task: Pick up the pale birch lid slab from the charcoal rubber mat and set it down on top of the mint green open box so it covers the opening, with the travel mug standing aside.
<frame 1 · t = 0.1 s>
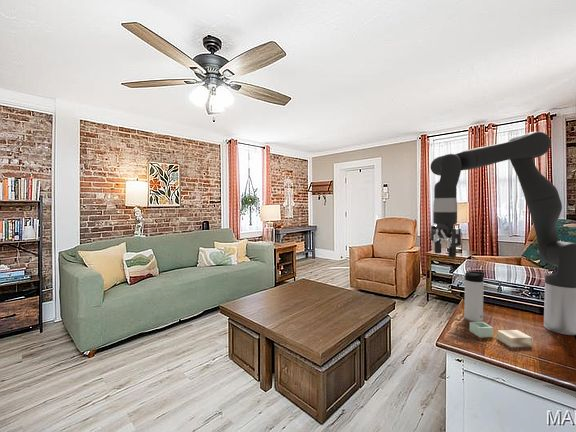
hand: (444, 255, 100), 29 cm above the table, tool pointing down, fingers open, 8 cm apart
mat: (513, 344, 93), on the table
lid: (513, 342, 93), point 1 cm above the table, touching mat
mint green open box: (481, 335, 99), on the table
travel mug: (473, 321, 112), on the table
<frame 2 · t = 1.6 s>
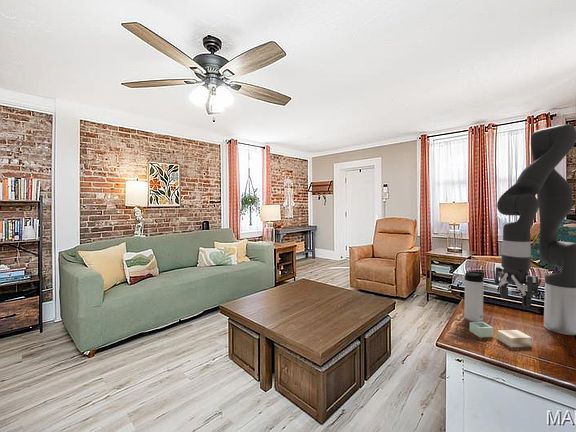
hand: (514, 301, 92), 15 cm above the table, tool pointing down, fingers open, 8 cm apart
nothing on the table moved.
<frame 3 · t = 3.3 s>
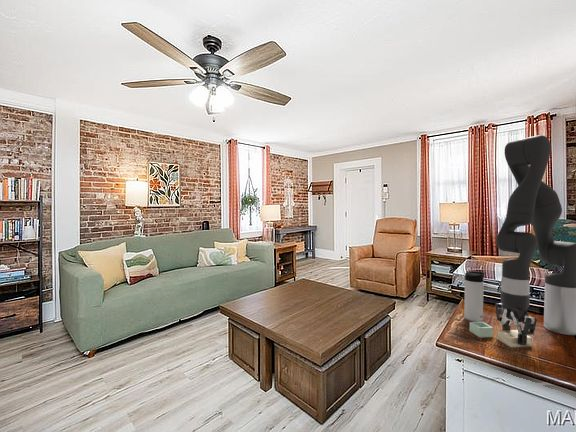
hand: (513, 339, 93), 2 cm above the table, tool pointing down, fingers closed on lid, 5 cm apart
lid: (513, 342, 93), point 1 cm above the table, touching gripper, mat
everything else where it was.
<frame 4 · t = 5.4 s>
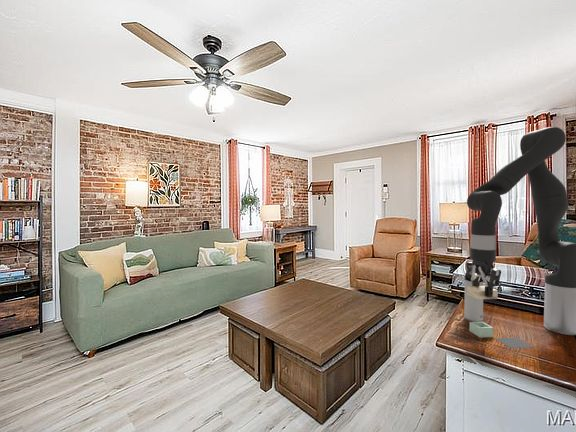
hand: (481, 293, 98), 15 cm above the table, tool pointing down, fingers closed on lid, 5 cm apart
lid: (481, 296, 98), point 14 cm above the table, touching gripper
everything else where it was.
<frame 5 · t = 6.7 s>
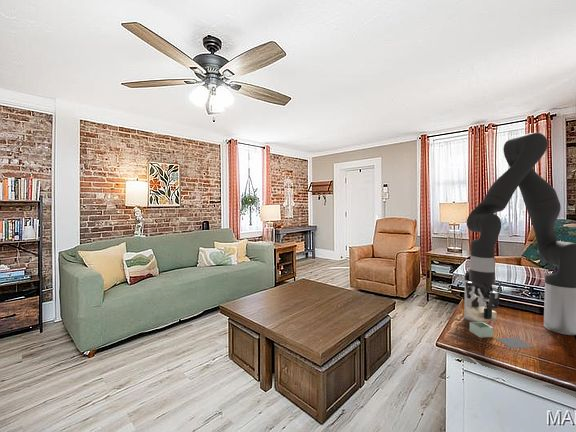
hand: (481, 315, 99), 8 cm above the table, tool pointing down, fingers closed on lid, 5 cm apart
lid: (480, 317, 99), point 7 cm above the table, touching gripper
everything else where it was.
when the fingers open (6 cm above the table, at t = 7.5 s): lid drops 1 cm, resting on mint green open box.
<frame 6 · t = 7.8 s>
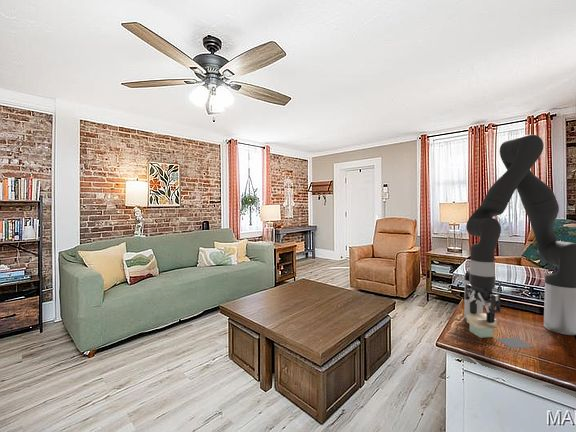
hand: (481, 317, 99), 7 cm above the table, tool pointing down, fingers open, 8 cm apart
lid: (481, 324, 99), point 4 cm above the table, touching mint green open box
everything else where it was.
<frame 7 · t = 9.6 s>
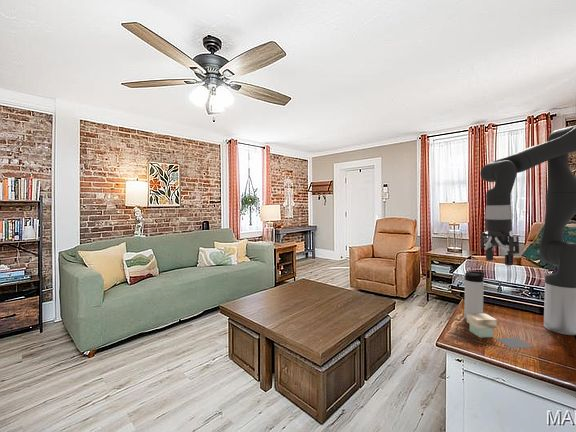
hand: (498, 262, 99), 26 cm above the table, tool pointing down, fingers open, 8 cm apart
nothing on the table moved.
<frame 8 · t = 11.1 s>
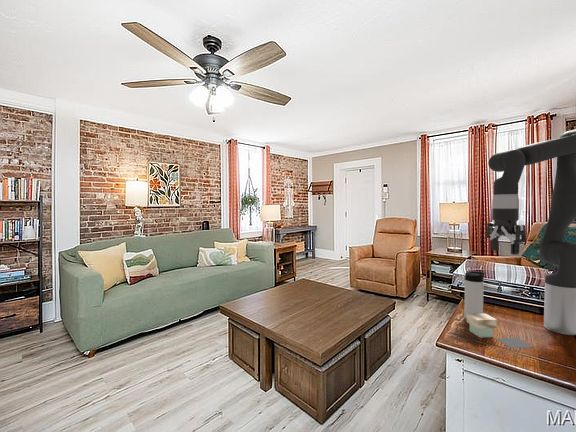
hand: (504, 252, 99), 30 cm above the table, tool pointing down, fingers open, 8 cm apart
nothing on the table moved.
at the end: lid 0.0 cm off-centre on the mint green open box, point 4.0 cm above the mint green open box's base; lid tilted 0°; the gripper is holding nothing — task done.
